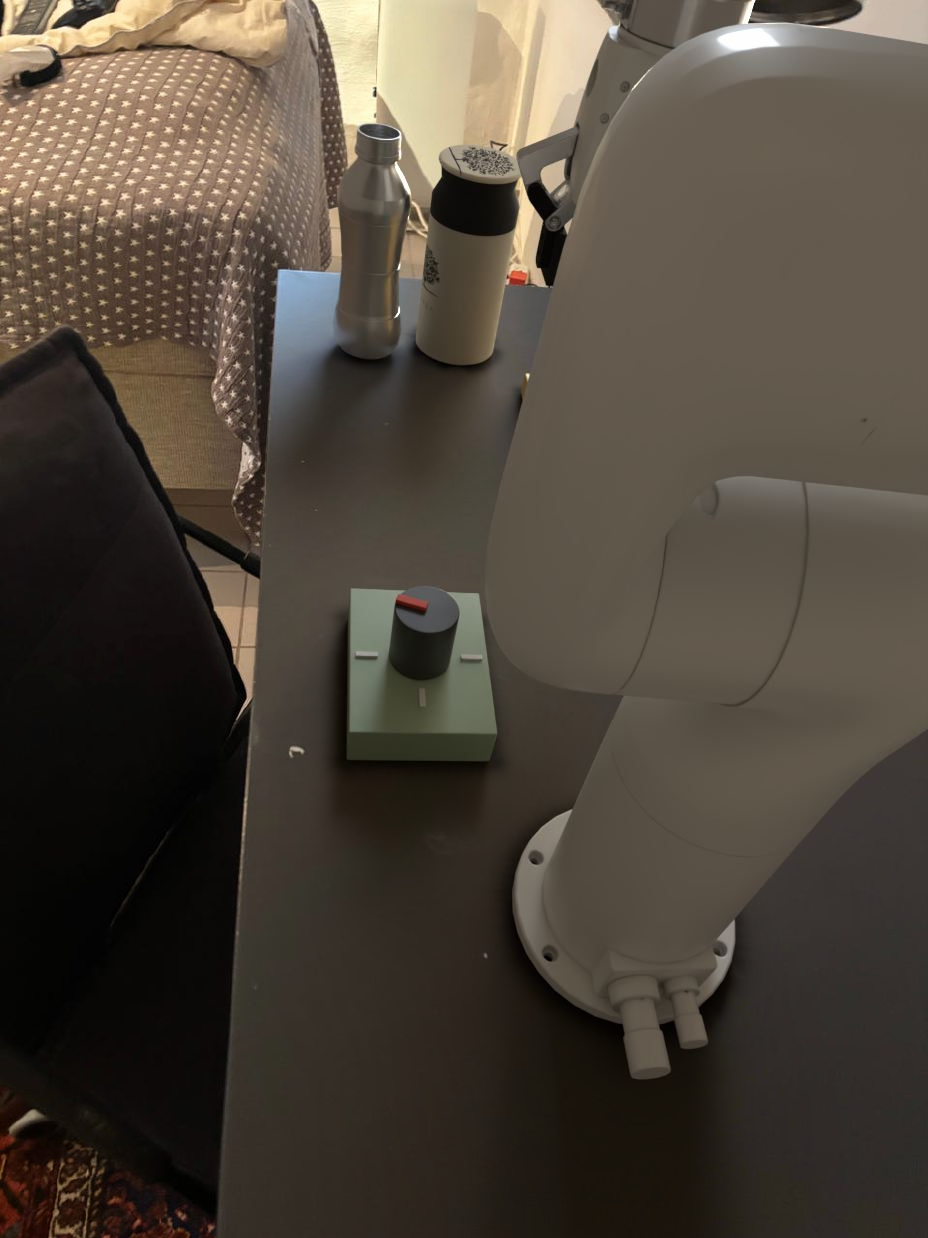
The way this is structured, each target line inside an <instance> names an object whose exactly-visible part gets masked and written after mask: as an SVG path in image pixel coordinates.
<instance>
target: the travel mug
mask: <svg viewBox="0 0 928 1238" xmlns="http://www.w3.org/2000/svg"><path fill="white" fill-rule="evenodd" d="M438 162H439V164H440V167H441V177H440V178H439V180H438V182H437V183H436V184H435V186H434V187H433V189H432V191H431V198H430V207H429V216H428V225H427V234H426V242H425V251H424V258H423V259H424V260H423V268H422V269H423V270H422V279H421V285H420V295H419V304H418V313H417V322H416V331H415V343H416V346H417V347H418V349H419V350H420V351H421V352H422V353H423V354H424V355H426V356H427V357H430V358H431V359H433V360H436V361H438V362H441V363H445V364H448V365H452V366H453V365H455V366H470V365H476V364H480V363H483V362H485V361H487V360H488V359H490V357H491V356H492V355H493V353H494V347H495V344H496V343H495V342H496V338H497V331H498V326H499V321H500V315H501V310H502V306H503V305H502V304H503V301H504V300H503V299H504V294H505V289H506V284H507V277H508V273H509V267H510V261H511V256H512V251H513V246H514V241H515V235H516V231H517V223H518V219H519V213H520V202H519V198H518V195H517V191H516V188H517V185H518V182H519V180H520V179H522V176H521V173H520V169H519V166H518V163H517V159H516V157H514V156H513V155H512V154H509V153H507V152H505V151H502V150H499V149H497V148H493V147H488V146H483V145H474V144H457V145H456V144H455V145H452V146H448V147H446V148H444V149H443V150H441V151H440V152H439V155H438Z"/></svg>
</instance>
